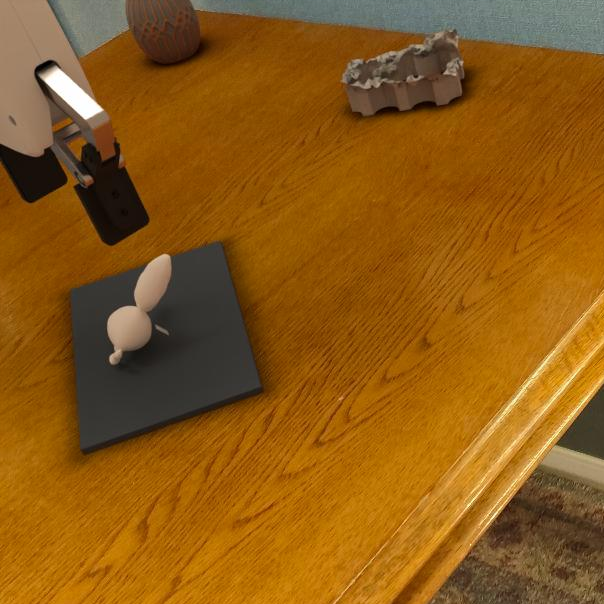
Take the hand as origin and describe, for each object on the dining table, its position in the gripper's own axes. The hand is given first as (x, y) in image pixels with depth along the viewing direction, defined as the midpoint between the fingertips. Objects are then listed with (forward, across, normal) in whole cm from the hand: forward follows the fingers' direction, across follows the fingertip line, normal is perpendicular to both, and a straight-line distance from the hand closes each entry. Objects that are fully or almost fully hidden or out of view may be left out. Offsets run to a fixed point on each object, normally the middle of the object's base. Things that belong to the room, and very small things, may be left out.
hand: (86, 212), depth 64 cm
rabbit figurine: (+10, +1, 0) cm, 10 cm away
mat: (+10, +1, 0) cm, 10 cm away
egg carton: (+11, -9, +35) cm, 38 cm away
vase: (+11, -41, +31) cm, 53 cm away
